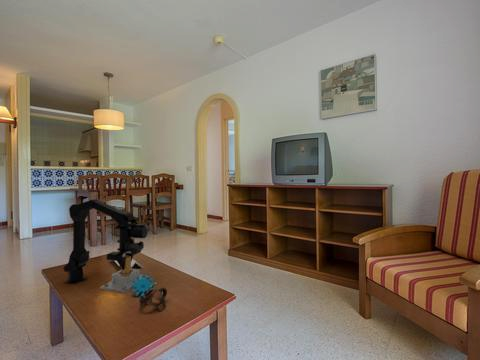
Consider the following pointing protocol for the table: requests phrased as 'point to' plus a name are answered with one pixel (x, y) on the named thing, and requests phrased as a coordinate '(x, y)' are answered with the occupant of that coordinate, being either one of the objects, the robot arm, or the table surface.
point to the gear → (142, 285)
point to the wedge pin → (127, 265)
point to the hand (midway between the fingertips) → (125, 268)
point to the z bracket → (131, 263)
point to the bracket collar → (122, 281)
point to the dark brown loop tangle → (156, 295)
